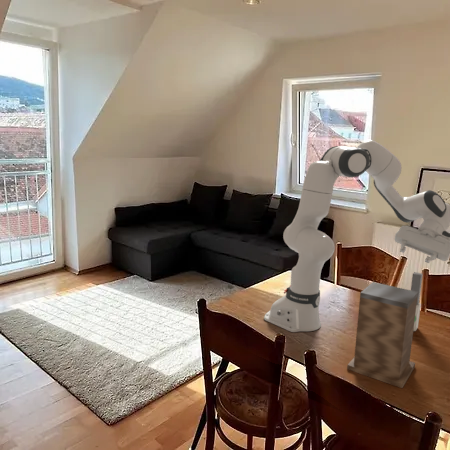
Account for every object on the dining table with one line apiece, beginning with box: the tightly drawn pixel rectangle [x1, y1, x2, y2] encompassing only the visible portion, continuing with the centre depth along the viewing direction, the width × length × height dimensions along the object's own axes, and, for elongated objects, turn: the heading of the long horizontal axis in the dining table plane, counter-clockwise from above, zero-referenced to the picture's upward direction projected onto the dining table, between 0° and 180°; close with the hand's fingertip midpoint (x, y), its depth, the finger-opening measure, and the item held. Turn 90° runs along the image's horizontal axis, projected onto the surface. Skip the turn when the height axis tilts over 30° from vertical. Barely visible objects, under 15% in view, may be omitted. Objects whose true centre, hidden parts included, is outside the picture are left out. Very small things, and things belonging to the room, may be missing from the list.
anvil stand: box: [346, 281, 418, 389], centre depth 136 cm, size 17×15×26 cm
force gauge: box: [410, 271, 423, 332], centre depth 166 cm, size 4×22×4 cm
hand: (414, 256), depth 160 cm, fingers open, 8 cm apart
